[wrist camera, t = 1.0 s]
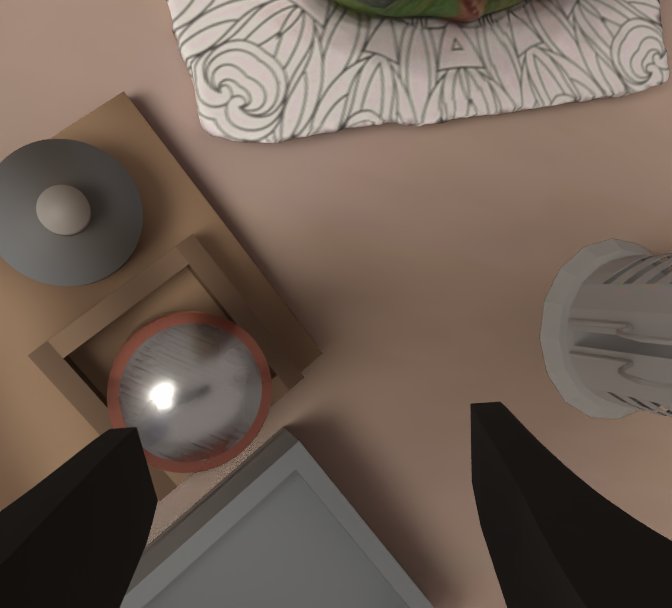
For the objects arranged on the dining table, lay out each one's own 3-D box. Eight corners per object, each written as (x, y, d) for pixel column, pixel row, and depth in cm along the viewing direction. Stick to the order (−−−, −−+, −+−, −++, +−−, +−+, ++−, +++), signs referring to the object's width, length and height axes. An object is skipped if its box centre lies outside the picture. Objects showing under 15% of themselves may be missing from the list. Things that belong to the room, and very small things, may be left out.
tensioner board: (66, 562, 24) (55, 615, 20) (-193, 302, 21) (-263, 307, 17) (315, 350, 27) (347, 361, 23) (123, 99, 24) (123, 64, 20)
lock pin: (163, 444, 24) (179, 506, 17) (84, 355, 23) (69, 385, 16) (253, 368, 25) (301, 399, 18) (183, 280, 24) (206, 279, 17)
